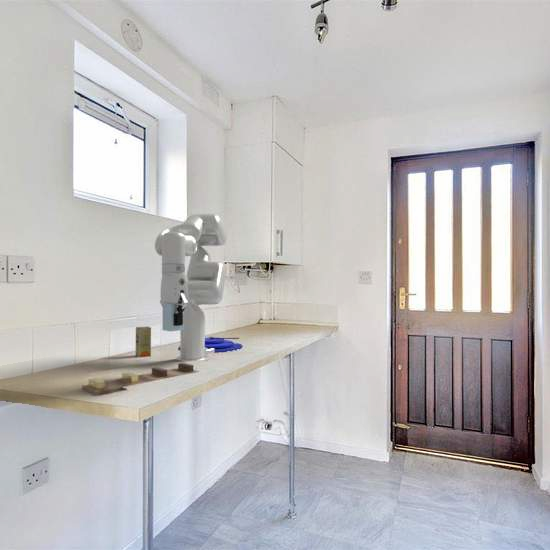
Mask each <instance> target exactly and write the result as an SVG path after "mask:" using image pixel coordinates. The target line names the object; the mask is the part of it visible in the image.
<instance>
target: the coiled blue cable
mask: <svg viewBox="0 0 550 550" xmlns="http://www.w3.org/2000/svg"><path fill="white" fill-rule="evenodd" d="M236 339H237V340H238V339H240V337H213V336H208V337H205V348H207V349H211V348H214V353H215V354H216V353H217V354H218V353H219V352H221V353H228V352H227V351H230V352H234V351H233V350H235V351H238V350H237V349H239V350H241V348H242V347H243V345H242V344H241V343H238V342H234V341H232V340H236ZM242 349H243V348H242ZM178 350H179V351H180V346H179V347H178ZM214 353H213V354H214ZM219 354H220V353H219Z"/></svg>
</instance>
